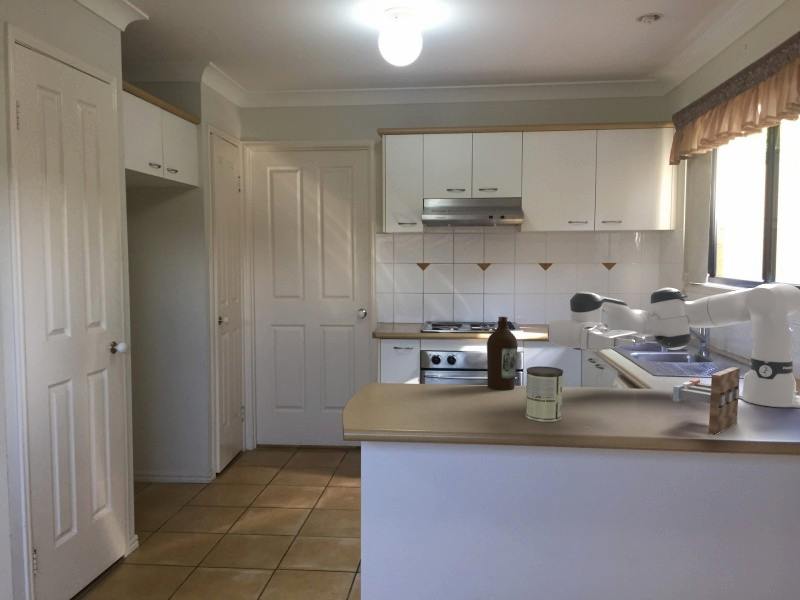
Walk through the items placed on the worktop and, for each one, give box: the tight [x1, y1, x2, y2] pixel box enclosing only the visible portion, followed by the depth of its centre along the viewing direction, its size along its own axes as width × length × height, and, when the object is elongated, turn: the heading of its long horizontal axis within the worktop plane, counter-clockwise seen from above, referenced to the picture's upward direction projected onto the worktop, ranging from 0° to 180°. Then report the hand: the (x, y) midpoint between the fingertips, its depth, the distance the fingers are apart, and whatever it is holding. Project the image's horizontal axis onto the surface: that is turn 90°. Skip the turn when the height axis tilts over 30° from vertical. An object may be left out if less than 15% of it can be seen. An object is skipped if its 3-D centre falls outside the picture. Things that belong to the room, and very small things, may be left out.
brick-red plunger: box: [689, 378, 740, 399], centre depth 182 cm, size 4×12×4 cm, turn 45°
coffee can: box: [525, 365, 564, 423], centre depth 183 cm, size 10×10×14 cm
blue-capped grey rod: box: [672, 384, 725, 406], centre depth 174 cm, size 4×12×4 cm, turn 45°
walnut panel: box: [708, 366, 741, 435], centre depth 175 cm, size 17×2×16 cm, turn 135°
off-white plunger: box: [681, 381, 732, 402], centre depth 178 cm, size 4×12×4 cm, turn 45°
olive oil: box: [486, 316, 519, 391], centre depth 222 cm, size 11×11×25 cm
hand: (639, 342), depth 185 cm, fingers open, 6 cm apart
